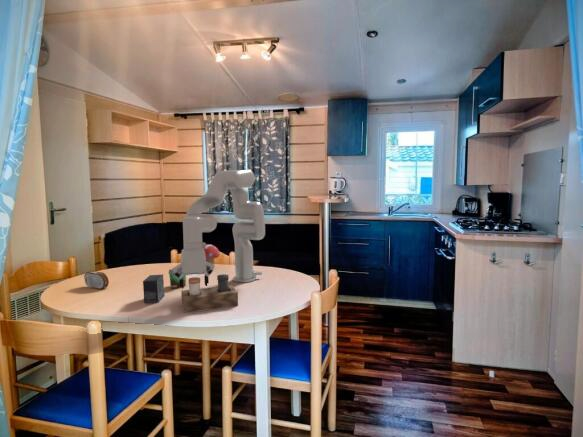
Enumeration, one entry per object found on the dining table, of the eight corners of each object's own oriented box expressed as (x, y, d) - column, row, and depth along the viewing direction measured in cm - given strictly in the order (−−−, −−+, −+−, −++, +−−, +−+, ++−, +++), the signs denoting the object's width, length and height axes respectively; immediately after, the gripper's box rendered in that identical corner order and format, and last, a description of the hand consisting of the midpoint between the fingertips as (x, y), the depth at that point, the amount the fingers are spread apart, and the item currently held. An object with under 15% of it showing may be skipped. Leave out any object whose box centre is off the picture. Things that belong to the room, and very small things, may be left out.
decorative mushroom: (212, 272, 214) (211, 247, 213) (193, 270, 219) (192, 245, 217) (224, 267, 226) (223, 243, 225) (206, 265, 231) (205, 242, 230)
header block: (232, 298, 166) (231, 285, 165) (238, 306, 154) (237, 292, 154) (181, 304, 158) (181, 290, 157) (184, 313, 146) (183, 298, 146)
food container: (180, 290, 179) (179, 270, 178) (169, 289, 180) (168, 269, 179) (192, 283, 191) (191, 264, 190) (181, 282, 192) (180, 264, 191)
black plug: (228, 300, 161) (227, 273, 160) (230, 303, 157) (229, 276, 156) (217, 301, 159) (216, 275, 158) (219, 305, 155) (218, 277, 154)
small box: (150, 296, 169) (149, 274, 168) (164, 296, 169) (163, 274, 168) (143, 304, 158) (142, 280, 157) (158, 303, 159) (157, 280, 158)
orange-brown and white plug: (200, 303, 157) (199, 276, 156) (201, 307, 152) (200, 279, 151) (188, 305, 155) (187, 277, 154) (190, 308, 151) (189, 280, 150)
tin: (109, 288, 182) (108, 272, 181) (104, 290, 179) (103, 273, 178) (89, 285, 188) (88, 269, 187) (83, 287, 185) (82, 271, 185)
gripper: (212, 243, 158) (213, 282, 159) (170, 246, 152) (172, 286, 153) (215, 246, 151) (216, 286, 152) (171, 249, 145) (173, 291, 146)
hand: (194, 286), depth 153 cm, fingers open, 9 cm apart
